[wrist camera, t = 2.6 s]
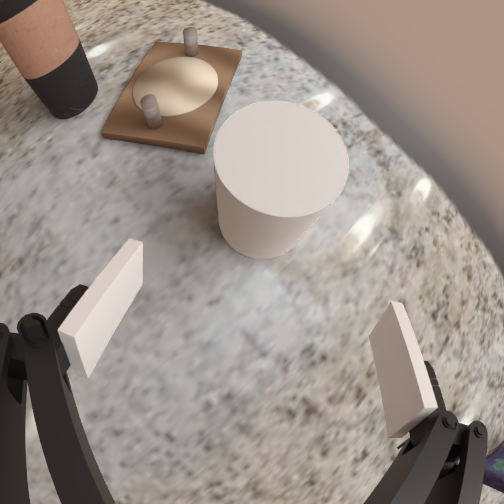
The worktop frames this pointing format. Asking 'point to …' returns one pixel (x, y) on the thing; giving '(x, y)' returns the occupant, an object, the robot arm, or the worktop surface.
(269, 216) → the cup
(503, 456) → the flask
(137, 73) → the tray
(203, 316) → the worktop surface
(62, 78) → the travel mug
